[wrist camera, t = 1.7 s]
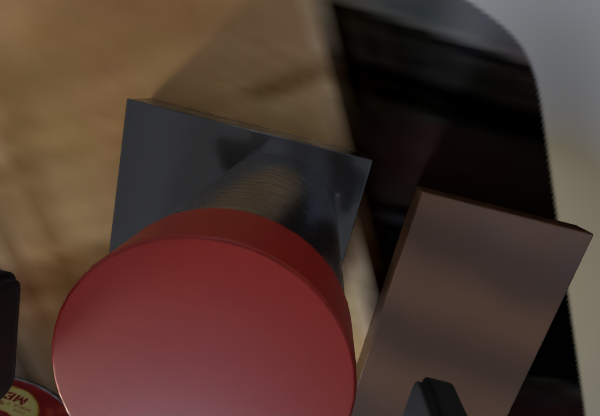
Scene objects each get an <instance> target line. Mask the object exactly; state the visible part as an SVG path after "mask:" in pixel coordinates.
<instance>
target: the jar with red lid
mask: <svg viewBox="0 0 600 416" xmlns="http://www.w3.org/2000/svg"><path fill="white" fill-rule="evenodd" d="M52 365H53V372H54V378H55V382H56V385H57V388H58V392H59V395H60V397H61V399H62V402H63V404H64V406H65V408H66V410H67V412H68V414H69V415H70V416H351V415H352V411H353V407H354V404H355V400H356V389H357V371H356V359H355V351H354V342H353V333H352V324H351V317H350V312H349V307H348V302H347V300H346V297H345V294H344V284H343V274H342V263H341V253H340V243H339V232H338V222H337V211H336V206H335V201H334V199H333V196H332V193H331V191H330V189H329V187H328V186H327V184H326V183H325V181H324V180H323V179H322V178H321V177H320V176H319V174H318V173H317V172H315V171H314V170H313V169H312V168H311V167H309V166H308V165H306V164H304V163H303V162H301V161H298V160H296V159H294V158H291V157H287V156H282V155H273V154H268V155H259V156H254V157H251V158H248V159H245V160H243V161H241V162H239V163H238V164H236V165H235V166H233V167H232V168H230V169H229V170H228V171H226V172H225V173H224V174H222V175H221V176H220V177H218V178H217V179H216V180H214V181H213V182H212V183H210V184H209V185H208V186H206V187H205V188H204V189H202V190H201V191H200V192H198V193H197V194H196V195H194V196H193V197H192V198H190V199H189V200H188V201H186V202H185V203H184V204H182V205H181V206H180V207H178V208H177V209H176V210H174V211H173V212H172V213H170V214H169V215H168V216H166V217H165V218H162V219H160V220H158V221H156V222H154V223H152V224H150V225H148V226H147V227H145V228H144V229H142V230H141V231H140V232H138V233H137V234H136V235H134V236H133V237H131V238H130V239H129V240H127V241H126V242H124V243H123V244H122V245H120V246H119V247H118V248H116V249H115V250H113V251H112V252H111V253H109V254H108V255H106V256H105V257H104V258H102V259H101V260H100V261H98V262H97V263H95V264H94V265H93V266H92V267H91V268H90V269H89V270H87V271H86V272H85V273H84V274H83V275H82V276H81V277H80V278H79V280H78V281H77V282H76V284H75V285H74V286H73V288H72V289H71V290H70V292H69V293H68V295H67V297H66V299H65V301H64V303H63V305H62V307H61V309H60V312H59V315H58V318H57V321H56V324H55V327H54V334H53V340H52Z"/></svg>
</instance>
